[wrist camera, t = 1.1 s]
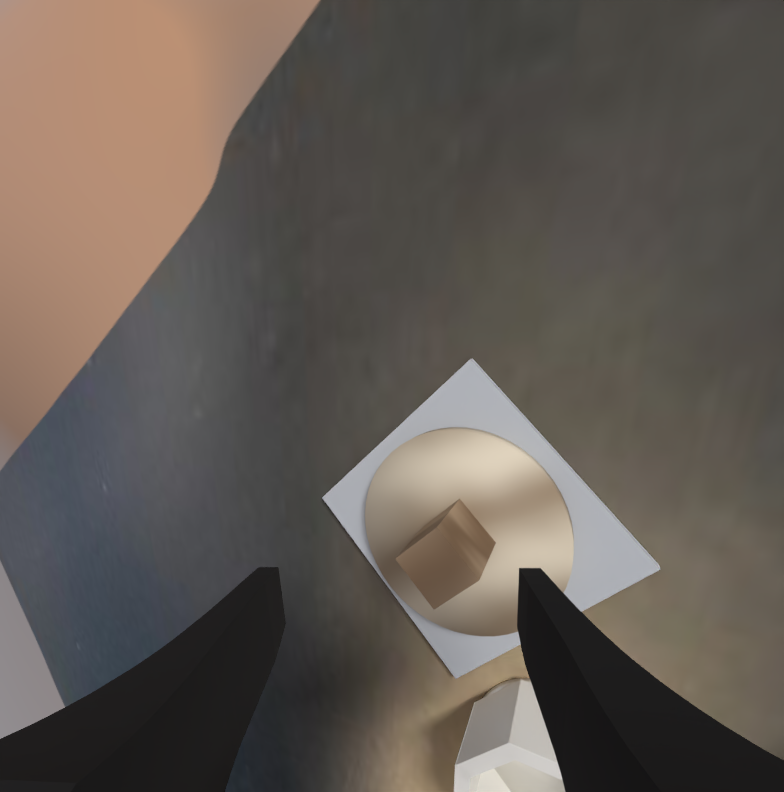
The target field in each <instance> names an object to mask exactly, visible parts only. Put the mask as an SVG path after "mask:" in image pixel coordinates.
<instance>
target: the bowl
mask: <svg viewBox="0 0 784 792" xmlns="http://www.w3.org/2000/svg"><path fill="white" fill-rule="evenodd" d="M454 792H565V788H564V784H563V780H562V776H561V772H560V769H559V766H558V762H557V759H556V755H555V752H554V749H553V746H552V743H551V740H550V737H549V734H548V731H547V728H546V725H545V722H544V719H543V716H542V713H541V710H540V707H539V704H538V701H537V698H536V695H535V692H534V689H533V686H532V683H531V680H530V678H518V679H512V680H507V681H505V682H502V683H500V684H498V685H496V686H495V687H493V688H492V689H491V690H489V691H488V692H487V693H486V695H485V696H484V697H483V698H482V699H480V700H478V701H476V702H474V705H473V708H472V711H471V715H470V718H469V721H468V724H467V728H466V731H465V734H464V737H463V740H462V744H461V747H460V750H459V753H458V757H457V760H456V763H455V778H454Z"/></svg>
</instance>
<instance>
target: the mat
mask: <svg viewBox="0 0 784 792" xmlns="http://www.w3.org/2000/svg"><path fill="white" fill-rule="evenodd" d="M449 427H465V428H472V429H478V430H483V431H486V432H489V433H492V434H495V435H498V436H500V437H502V438H504V439H507V440H509V441H510V442H512V443H514V444H515V445H517V446H519V447H520V448H522V449H523V450H524V451H525V452H527V453H528V454H529V455H531V456H532V457H533V458H534V459H535V460H536V461H537V462H538V463H539V464H540V465H541V466H542V467H543V468H544V469H545V470H546V471H547V473H548V474H549V475H550V477H551V478H552V479H553V480H554V482H555V484H556V485H557V487H558V489H559V490H560V492H561V494H562V496H563V498H564V500H565V503H566V505H567V507H568V511H569V514H570V518H571V521H572V527H573V534H574V556H573V565H572V571H571V575H570V578H569V581H568V584H567V587H566V589H565V591H564V594H565V595H566V596H567V597H568V598H569V600H570V601H571V602H572V603H573V604H574V605H575V606H576V607H577V608H578V609H579V610H580V611H581V612H582V611H584V610H585V609H587V608H589V607H591V606H593V605H595V604H597V603H599V602H600V601H602V600H604V599H606V598H608V597H610V596H612V595H613V594H615V593H617V592H619V591H621V590H623V589H625V588H627V587H628V586H630V585H632V584H634V583H636V582H638V581H640V580H642V579H643V578H645V577H647V576H649V575H651V574H653V573H655V572H657V571H658V570H660V567H659V564H658V563H657V562H656V561H655V560H654V559H653V557H652V556H651V555H650V554H649V553H648V552H647V551H646V550H645V549H644V548H643V546H642V545H641V544H640V543H639V542H638V541H637V540H636V539H635V538H634V536H633V535H632V534H631V533H630V532H629V531H628V530H627V529H626V528H625V527H624V525H623V524H622V523H621V522H620V521H619V520H618V519H617V518H616V517H615V515H614V514H613V513H612V512H611V511H610V510H609V509H608V508H607V507H606V505H605V504H604V503H603V502H602V501H601V500H600V499H599V498H598V497H597V496H596V494H595V493H594V492H593V491H592V490H591V489H590V488H589V487H588V486H587V484H586V483H585V482H584V481H583V480H582V479H581V478H580V477H579V476H578V475H577V473H576V472H575V471H574V470H573V469H572V468H571V467H570V466H569V465H568V463H567V462H566V461H565V460H564V459H563V458H562V457H561V456H560V455H559V453H558V452H557V451H556V450H555V449H554V448H553V447H552V446H551V445H550V444H549V442H548V441H547V440H546V439H545V438H544V437H543V436H542V435H541V434H540V432H539V431H538V430H537V429H536V428H535V427H534V426H533V425H532V424H531V423H530V421H529V420H528V419H527V418H526V417H525V416H524V415H523V414H522V413H521V411H520V410H519V409H518V408H517V407H516V406H515V405H514V404H513V403H512V401H511V400H510V399H509V398H508V397H507V396H506V395H505V394H504V393H503V392H502V390H501V389H500V388H499V387H498V386H497V385H496V384H495V383H494V382H493V380H492V379H491V378H490V377H489V376H488V375H487V374H486V373H485V372H484V371H483V369H482V368H481V367H480V366H479V365H478V364H477V363H476V362H475V361H474V359H470V360H469V361H468V362H467V363H466V364H465V365H464V366H463V367H462V368H460V369H459V370H458V371H457V372H456V373H455V374H454V375H453V376H452V377H451V378H450V379H449V380H448V381H447V382H445V383H444V384H443V385H442V386H441V387H440V388H439V389H438V390H437V391H436V392H435V393H434V394H433V395H432V396H430V397H429V398H428V399H427V400H426V401H425V402H424V403H423V404H422V405H421V406H420V407H419V408H418V409H417V410H415V411H414V412H413V413H412V414H411V415H410V416H409V417H408V418H407V419H406V420H405V421H404V422H403V423H402V424H401V425H399V426H398V427H397V428H396V429H395V430H394V431H393V432H392V433H391V434H390V435H389V436H388V437H387V438H386V439H384V440H383V441H382V442H381V443H380V444H379V445H378V446H377V447H376V448H375V449H374V450H373V451H372V452H371V453H369V454H368V455H367V456H366V457H365V458H364V459H363V460H362V461H361V462H360V463H359V464H358V465H357V466H356V467H355V468H353V469H352V470H351V471H350V472H349V473H348V474H347V475H346V476H345V477H344V478H343V479H342V480H341V481H340V482H338V483H337V484H336V485H335V486H334V487H333V488H332V489H331V490H330V491H329V492H328V493H327V494H326V495H325V496H323V497H322V498H323V500H324V501H325V502H326V504H327V505H328V506H329V508H330V509H331V510H332V512H333V513H334V515H335V516H336V517H337V519H338V520H339V521H340V523H341V524H342V525H343V527H344V528H345V529H346V531H347V532H348V534H349V535H350V536H351V538H352V539H353V540H354V542H355V543H356V544H357V546H358V547H359V548H360V550H361V551H362V552H363V554H364V555H365V557H366V558H367V559H368V561H369V562H370V563H371V565H372V566H373V567H374V569H375V570H376V571H377V573H378V574H379V576H380V577H381V578H382V580H383V581H384V582H385V584H386V585H387V586H388V588H389V589H390V590H391V592H392V593H393V594H394V596H395V597H396V599H397V600H398V601H399V603H400V604H401V605H402V607H403V608H404V609H405V611H406V612H407V613H408V615H409V616H410V618H411V619H412V620H413V622H414V623H415V624H416V626H417V627H418V628H419V630H420V631H421V632H422V634H423V635H424V636H425V638H426V639H427V641H428V642H429V643H430V645H431V646H432V647H433V649H434V650H435V651H436V653H437V654H438V655H439V657H440V658H441V660H442V661H443V662H444V664H445V665H446V666H447V668H448V669H449V670H450V672H451V673H452V674H453V676H454V677H455V678H458V677H460V676H462V675H464V674H466V673H468V672H469V671H471V670H473V669H475V668H477V667H479V666H481V665H483V664H484V663H486V662H488V661H490V660H492V659H494V658H496V657H498V656H499V655H501V654H503V653H505V652H507V651H509V650H511V649H512V648H514V647H516V646H518V645H520V644H521V643H520V638H519V634H518V632H515V633H511V634H508V635H501V636H474V635H467V634H463V633H459V632H455V631H452V630H449V629H447V628H444V627H441V626H439V625H437V624H435V623H433V622H432V621H430V620H428V619H426V618H425V617H423V616H422V615H420V614H419V613H417V612H416V611H415V610H414V609H412V608H411V607H410V606H409V605H407V604H406V603H405V602H404V601H403V600H402V599H401V598H400V597H399V596H398V595H397V594H396V592H395V591H394V590H393V589H392V588H391V586H390V585H389V584H388V582H387V581H386V579H385V578H384V576H383V575H382V573H381V571H380V569H379V567H378V566H377V564H376V562H375V559H374V557H373V554H372V552H371V549H370V545H369V542H368V538H367V532H366V526H365V507H366V499H367V494H368V490H369V487H370V484H371V481H372V479H373V477H374V475H375V473H376V471H377V469H378V468H379V467H380V465H381V464H382V462H383V461H384V460H385V459H386V458H387V457H388V456H389V454H390V453H391V452H393V451H394V450H395V449H396V448H398V447H399V446H400V445H402V444H403V443H405V442H407V441H409V440H410V439H412V438H414V437H416V436H418V435H420V434H423V433H425V432H428V431H431V430H436V429H440V428H449Z"/></svg>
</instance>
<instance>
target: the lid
mask: <svg viewBox="0 0 784 792" xmlns="http://www.w3.org/2000/svg"><path fill="white" fill-rule="evenodd" d="M365 526H366V532H367V538H368V542H369V545H370V549H371V552H372V554H373V557H374V559H375V562H376V564H377V566H378V567H379V569H380V571H381V573H382V575H383V576H384V578H385V579H386V581H387V582H388V584H389V585H390V586H391V588H392V589H393V590H394V591H395V592H396V594H397V595H398V596H399V597H400V598H401V599H402V600H403V601H404V602H405V603H406V604H407V605H409V606H410V607H411V608H412V609H414V610H415V611H416V612H417V613H419V614H420V615H422V616H423V617H425V618H426V619H428V620H430V621H432V622H433V623H435V624H437V625H439V626H441V627H444V628H447V629H449V630H452V631H455V632H459V633H463V634H467V635H474V636H501V635H508V634H511V633H515V632H518V629H517V612H518V584H519V568H541V569H542V570H543V571H544V572H545V573H546V574H547V575H548V577H549V578H550V579H551V580H552V581H553V582H554V583H555V584H556V585H557V587H558V588H559V589H560V590H561V591H562V592H563V593H564V591H565V589H566V587H567V584H568V581H569V578H570V575H571V571H572V565H573V556H574V534H573V527H572V521H571V518H570V514H569V511H568V507H567V505H566V503H565V500H564V498H563V496H562V494H561V492H560V490H559V489H558V487H557V485H556V484H555V482H554V480H553V479H552V478H551V477H550V475H549V474H548V473H547V471H546V470H545V469H544V468H543V467H542V466H541V465H540V464H539V463H538V462H537V461H536V460H535V459H534V458H533V457H532V456H531V455H529V454H528V453H527V452H525V451H524V450H523V449H522V448H520V447H519V446H517V445H515V444H514V443H512V442H510V441H509V440H507V439H504V438H502V437H500V436H498V435H495V434H492V433H489V432H486V431H483V430H478V429H472V428H465V427H449V428H440V429H436V430H431V431H428V432H425V433H423V434H420V435H418V436H416V437H414V438H412V439H410V440H409V441H407V442H405V443H403V444H402V445H400V446H399V447H398V448H396V449H395V450H394V451H393V452H391V453H390V454H389V456H388V457H387V458H386V459H385V460H384V461H383V462H382V464H381V465H380V467H379V468H378V469H377V471H376V473H375V475H374V477H373V479H372V481H371V484H370V487H369V490H368V494H367V499H366V507H365Z"/></svg>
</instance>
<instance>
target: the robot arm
mask: <svg viewBox="0 0 784 792" xmlns="http://www.w3.org/2000/svg"><path fill="white" fill-rule="evenodd" d="M285 624H286V623H285V615H284V608H283V600H282V592H281V585H280V577H279V569H278V567H259V568H258V569H256V570H255V571H254V572H253V573H252V574H250V575H249V576H248V577H247V578H246V579H245V580H244V581H243V582H241V583H240V584H239V585H238V586H237V587H236V588H235V589H234V590H232V591H231V592H230V593H229V594H228V595H227V596H226V597H224V598H223V599H222V600H221V601H220V602H219V603H218V604H216V605H215V606H214V607H213V608H212V609H211V610H209V611H208V612H207V613H206V614H205V615H203V616H202V617H201V618H200V619H198V620H197V621H196V622H195V623H193V624H192V625H191V626H190V627H188V628H187V629H186V630H185V631H183V632H182V633H181V634H180V635H178V636H177V637H176V638H175V639H173V640H172V641H171V642H169V643H168V644H167V645H165V646H164V647H162V648H161V649H160V650H158V651H157V652H155V653H154V654H153V655H151V656H150V657H148V658H147V659H145V660H144V661H142V662H141V663H139V664H138V665H136V666H135V667H133V668H132V669H130V670H129V671H127V672H125V673H124V674H122V675H120V676H119V677H117V678H115V679H114V680H112V681H110V682H109V683H107V684H106V685H104V686H102V687H101V688H99V689H97V690H96V691H94V692H92V693H91V694H89V695H87V696H85V697H83V698H82V699H80V700H78V701H76V702H74V703H72V704H71V705H69V706H67V707H65V708H63V709H61V710H59V711H58V712H55V713H54V714H52V715H50V716H48V717H46V718H44V719H42V720H40V721H38V722H36V723H34V724H32V725H30V726H28V727H25V728H23V729H21V730H19V731H17V732H15V733H12V734H10V735H8V736H6V737H4V738H1V739H0V792H225V789H226V786H227V783H228V779H229V776H230V773H231V770H232V767H233V764H234V761H235V758H236V756H237V753H238V750H239V747H240V745H241V742H242V740H243V737H244V735H245V732H246V730H247V728H248V725H249V723H250V720H251V718H252V716H253V713H254V711H255V708H256V706H257V704H258V701H259V699H260V696H261V694H262V691H263V689H264V687H265V684H266V682H267V679H268V677H269V674H270V672H271V669H272V667H273V664H274V662H275V659H276V656H277V653H278V649H279V646H280V643H281V639H282V635H283V631H284V628H285ZM517 629H518V634H519V638H520V643H521V648H522V652H523V657H524V661H525V665H526V668H527V671H528V674H529V677H530V680H531V683H532V686H533V689H534V692H535V695H536V698H537V701H538V704H539V707H540V710H541V713H542V716H543V719H544V722H545V725H546V728H547V731H548V734H549V737H550V740H551V743H552V746H553V749H554V752H555V755H556V759H557V762H558V766H559V769H560V772H561V776H562V780H563V784H564V788H565V792H784V761H783V760H782V759H780V758H778V757H776V756H774V755H772V754H771V753H769V752H767V751H765V750H763V749H762V748H760V747H758V746H757V745H755V744H753V743H752V742H750V741H748V740H747V739H745V738H743V737H742V736H740V735H739V734H737V733H735V732H734V731H732V730H730V729H729V728H727V727H726V726H724V725H722V724H721V723H719V722H718V721H716V720H715V719H713V718H712V717H710V716H709V715H707V714H705V713H704V712H702V711H701V710H699V709H698V708H697V707H695V706H694V705H692V704H691V703H689V702H688V701H687V700H685V699H684V698H682V697H681V696H679V695H678V694H677V693H675V692H674V691H672V690H671V689H670V688H668V687H667V686H666V685H664V684H663V683H662V682H660V681H659V680H658V679H656V678H655V677H654V676H653V675H651V674H650V673H649V672H648V671H646V670H645V669H644V668H642V667H641V666H640V665H639V664H637V663H636V662H635V661H634V660H632V659H631V658H630V657H629V656H628V655H627V654H625V653H624V652H623V651H622V650H621V649H620V648H619V647H617V646H616V645H615V644H614V643H613V642H612V641H611V640H610V639H609V638H607V637H606V636H605V635H604V634H603V633H602V632H601V631H600V630H599V629H598V628H597V627H596V626H595V625H594V624H593V623H592V622H591V621H590V620H589V619H588V618H587V617H586V616H585V615H584V614H583V613H582V612H581V611H580V610H579V609H578V608H577V607H576V606H575V605H574V604H573V603H572V602H571V601H570V600H569V598H568V597H567V596H566V595H565V594H564V593H563V592H562V591H561V590H560V589H559V588H558V587H557V585H556V584H555V583H554V582H553V581H552V580H551V579H550V578H549V577H548V575H547V574H546V573H545V572H544V571H543V570H542V569H541V568H519V584H518V612H517Z"/></svg>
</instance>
